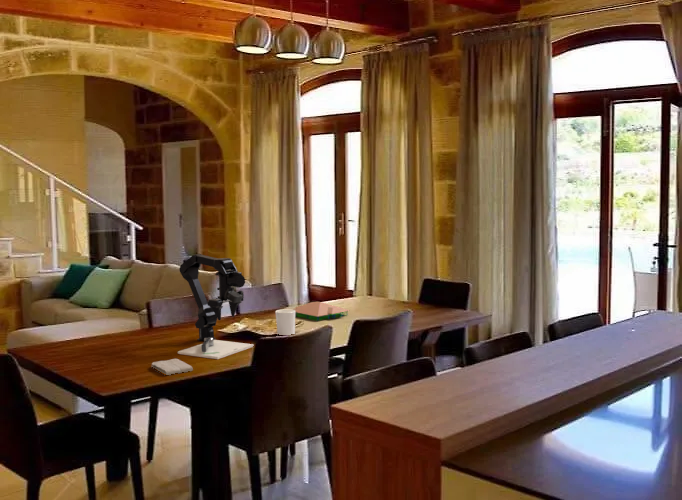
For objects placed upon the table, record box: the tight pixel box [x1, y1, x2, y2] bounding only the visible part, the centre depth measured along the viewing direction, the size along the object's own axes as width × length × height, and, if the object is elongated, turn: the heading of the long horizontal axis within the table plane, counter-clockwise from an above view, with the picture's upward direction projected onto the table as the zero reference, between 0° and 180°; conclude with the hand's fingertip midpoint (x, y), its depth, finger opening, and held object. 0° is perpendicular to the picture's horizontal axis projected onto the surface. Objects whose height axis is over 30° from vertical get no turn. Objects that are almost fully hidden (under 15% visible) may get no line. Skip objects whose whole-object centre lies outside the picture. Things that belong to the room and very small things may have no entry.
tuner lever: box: [201, 337, 214, 352], centre depth 325 cm, size 16×4×4 cm, turn 2°
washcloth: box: [150, 358, 194, 376], centre depth 297 cm, size 12×18×3 cm, turn 36°
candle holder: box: [275, 308, 296, 335], centre depth 354 cm, size 10×10×12 cm
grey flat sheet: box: [177, 339, 255, 360], centre depth 327 cm, size 23×25×1 cm
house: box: [292, 301, 350, 322], centre depth 402 cm, size 23×33×8 cm
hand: (226, 318), depth 339 cm, fingers open, 9 cm apart
